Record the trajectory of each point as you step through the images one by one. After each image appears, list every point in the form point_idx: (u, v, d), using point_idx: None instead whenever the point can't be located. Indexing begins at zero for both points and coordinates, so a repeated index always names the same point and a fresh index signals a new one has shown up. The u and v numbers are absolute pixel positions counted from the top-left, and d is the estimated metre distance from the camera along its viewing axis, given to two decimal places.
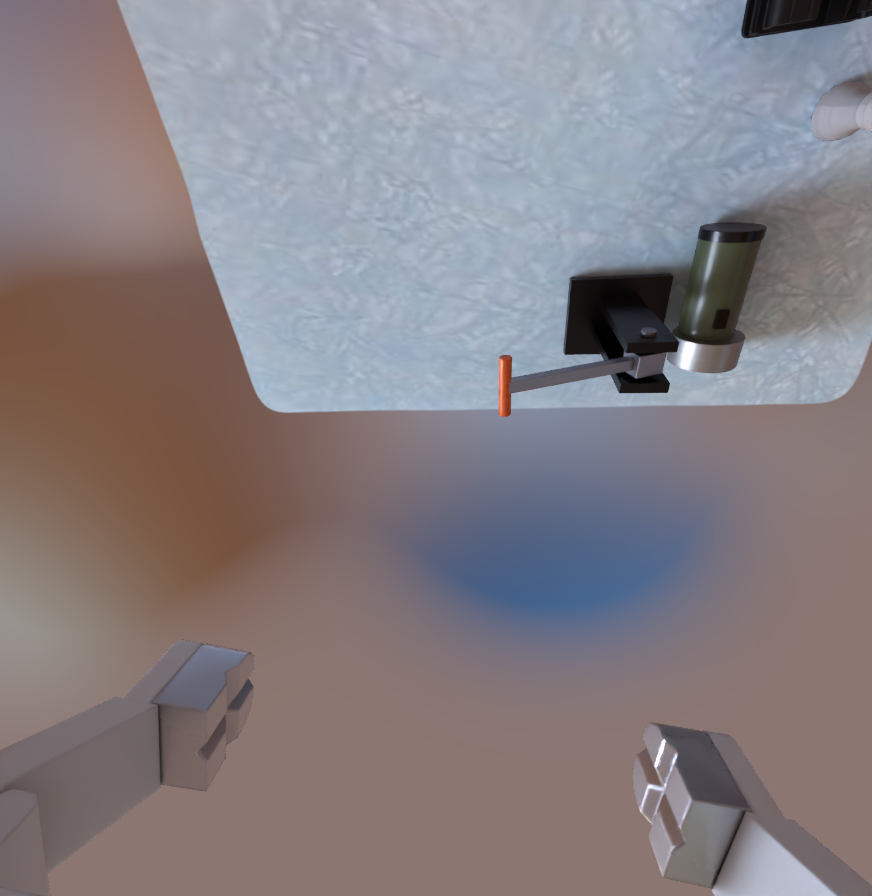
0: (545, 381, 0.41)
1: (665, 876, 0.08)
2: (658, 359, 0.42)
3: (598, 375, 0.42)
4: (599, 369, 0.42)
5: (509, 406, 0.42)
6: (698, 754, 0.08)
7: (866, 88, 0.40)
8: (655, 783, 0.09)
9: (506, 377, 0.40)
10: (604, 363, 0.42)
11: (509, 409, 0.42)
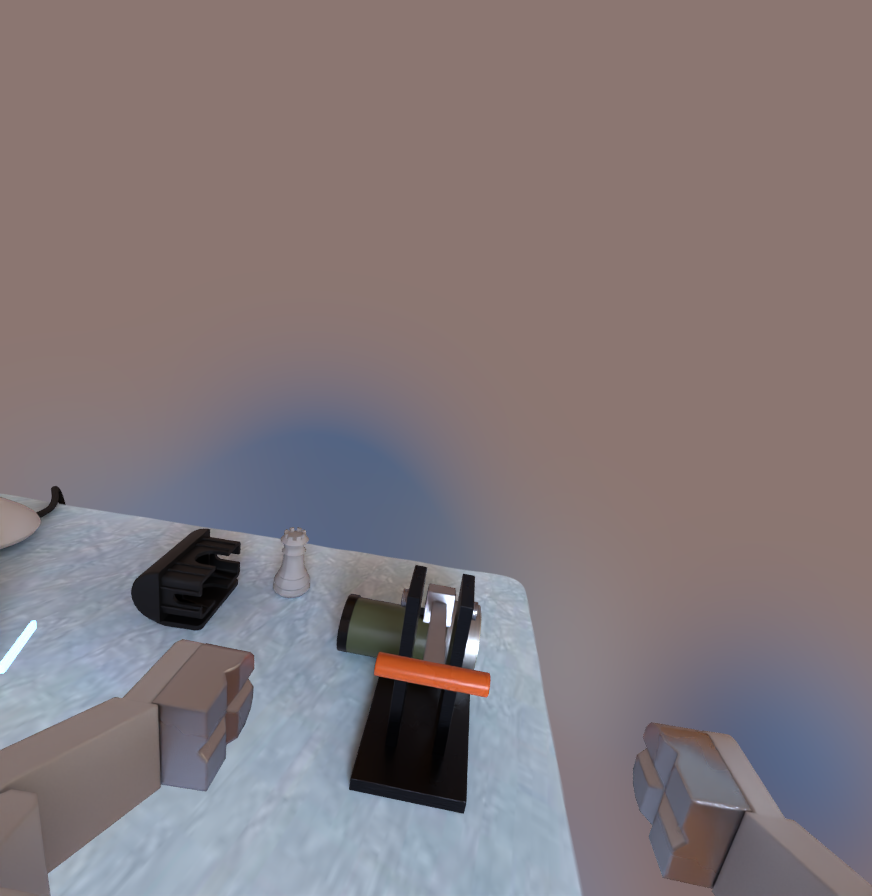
0: (435, 639, 0.26)
1: (664, 875, 0.08)
2: (436, 586, 0.37)
3: (444, 615, 0.32)
4: (435, 614, 0.32)
5: None
6: (699, 754, 0.08)
7: None
8: (655, 783, 0.09)
9: (411, 659, 0.23)
10: None
11: (476, 671, 0.23)
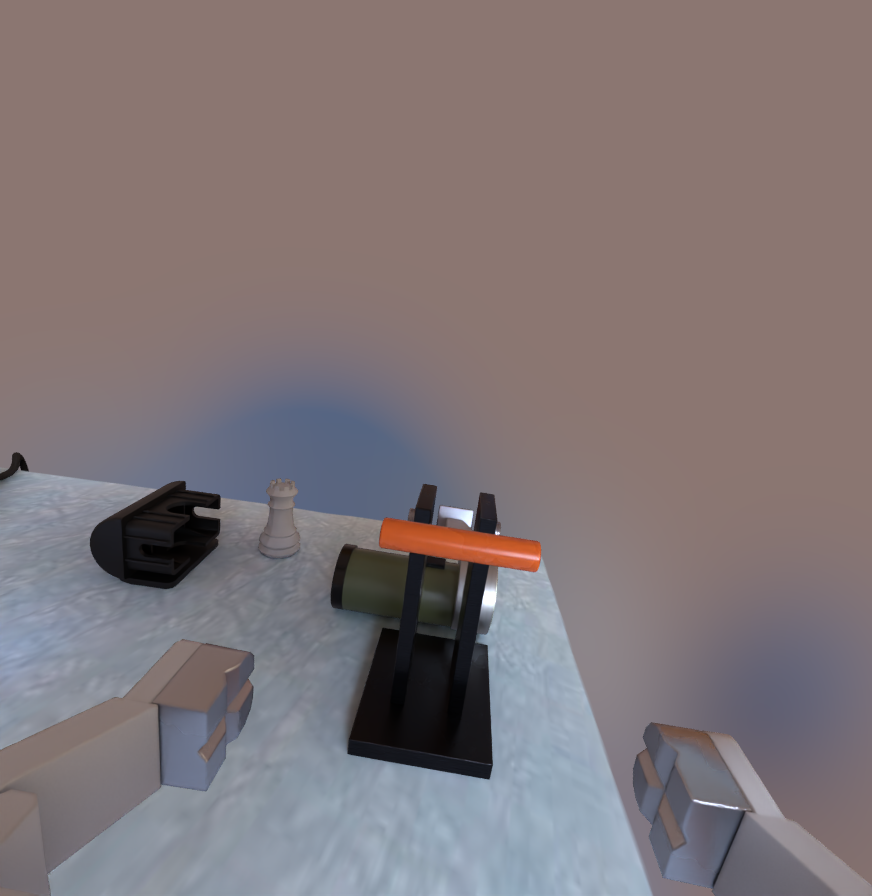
0: (458, 525, 0.20)
1: (665, 875, 0.08)
2: (449, 506, 0.31)
3: (463, 522, 0.25)
4: (452, 520, 0.25)
5: None
6: (698, 754, 0.08)
7: None
8: (655, 783, 0.09)
9: (429, 524, 0.16)
10: (445, 524, 0.26)
11: None
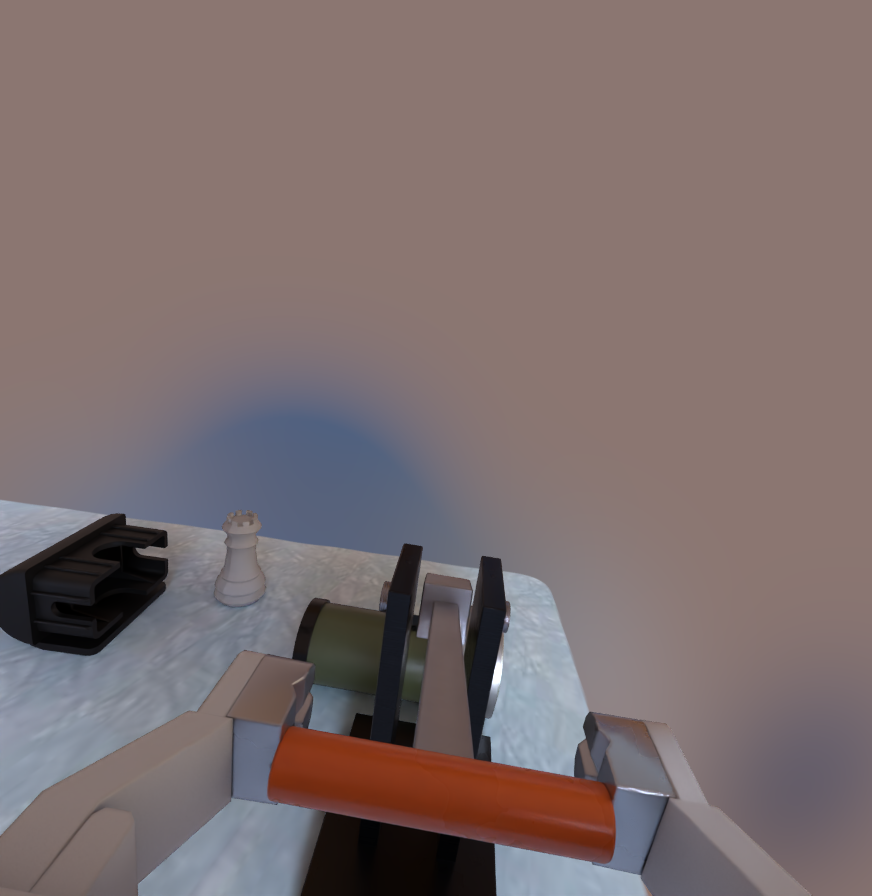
0: (444, 678, 0.11)
1: (594, 862, 0.08)
2: (438, 576, 0.22)
3: (456, 624, 0.17)
4: (440, 622, 0.17)
5: (547, 773, 0.08)
6: (632, 743, 0.08)
7: None
8: (591, 772, 0.09)
9: (378, 749, 0.08)
10: None
11: (565, 776, 0.08)
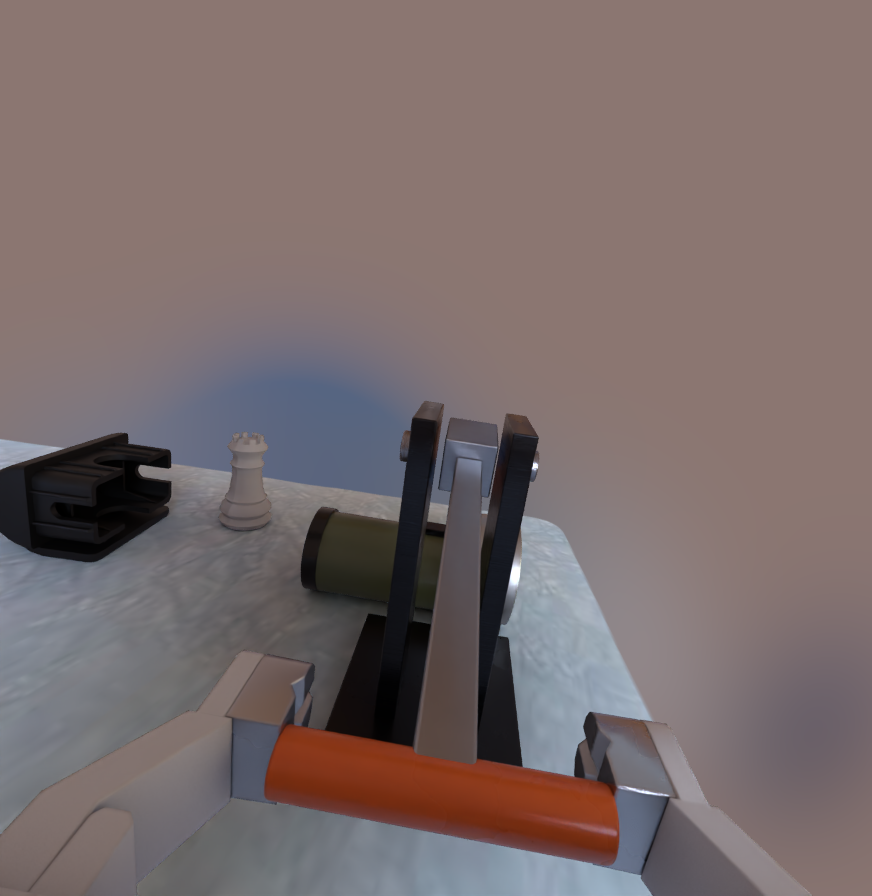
0: (455, 611, 0.11)
1: None
2: (462, 424, 0.21)
3: (476, 502, 0.16)
4: (459, 499, 0.16)
5: (553, 777, 0.08)
6: (632, 742, 0.08)
7: None
8: (591, 772, 0.09)
9: (373, 763, 0.07)
10: None
11: (572, 780, 0.08)
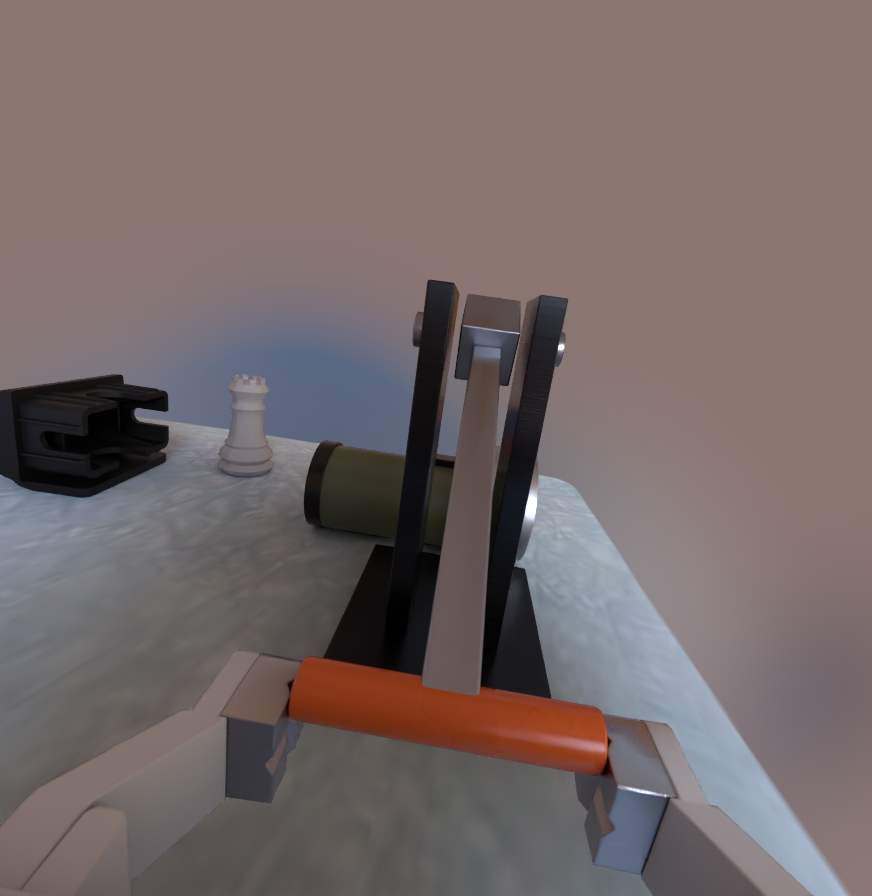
0: (465, 536, 0.11)
1: (595, 861, 0.08)
2: (481, 303, 0.18)
3: (493, 403, 0.15)
4: (475, 400, 0.15)
5: (550, 706, 0.08)
6: (633, 742, 0.08)
7: None
8: None
9: (384, 696, 0.08)
10: None
11: (568, 709, 0.08)
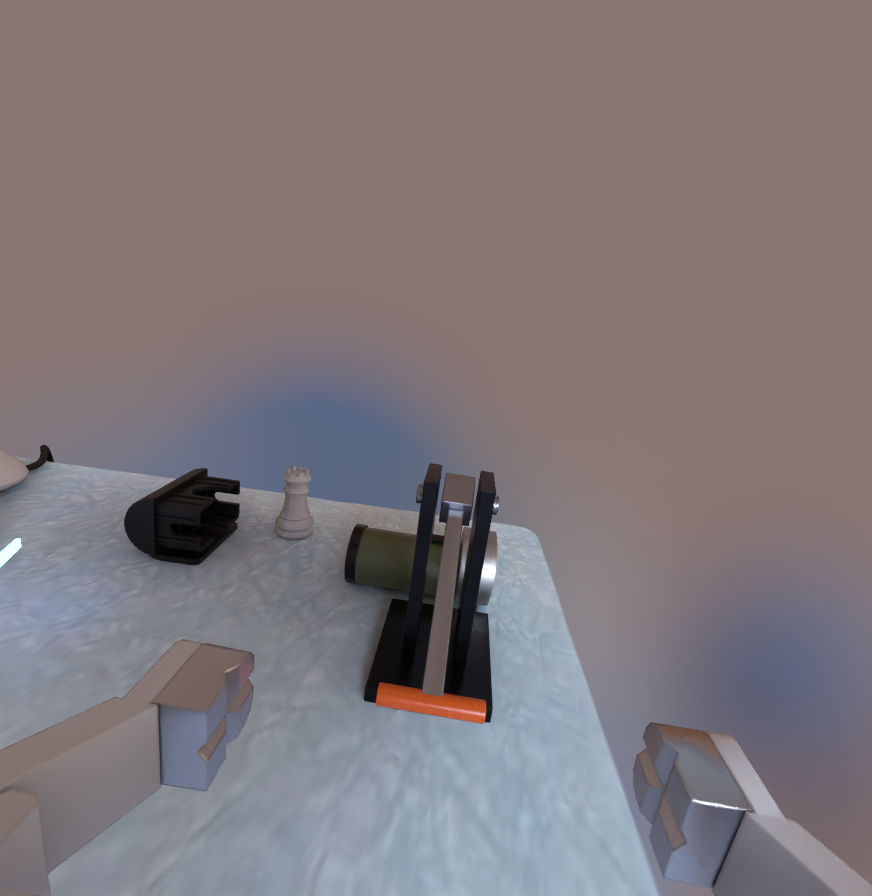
0: (440, 630, 0.26)
1: (664, 875, 0.08)
2: (453, 481, 0.34)
3: (456, 552, 0.30)
4: (447, 550, 0.30)
5: (467, 700, 0.24)
6: (698, 754, 0.08)
7: None
8: (655, 783, 0.09)
9: (409, 697, 0.23)
10: (443, 544, 0.31)
11: (473, 700, 0.24)
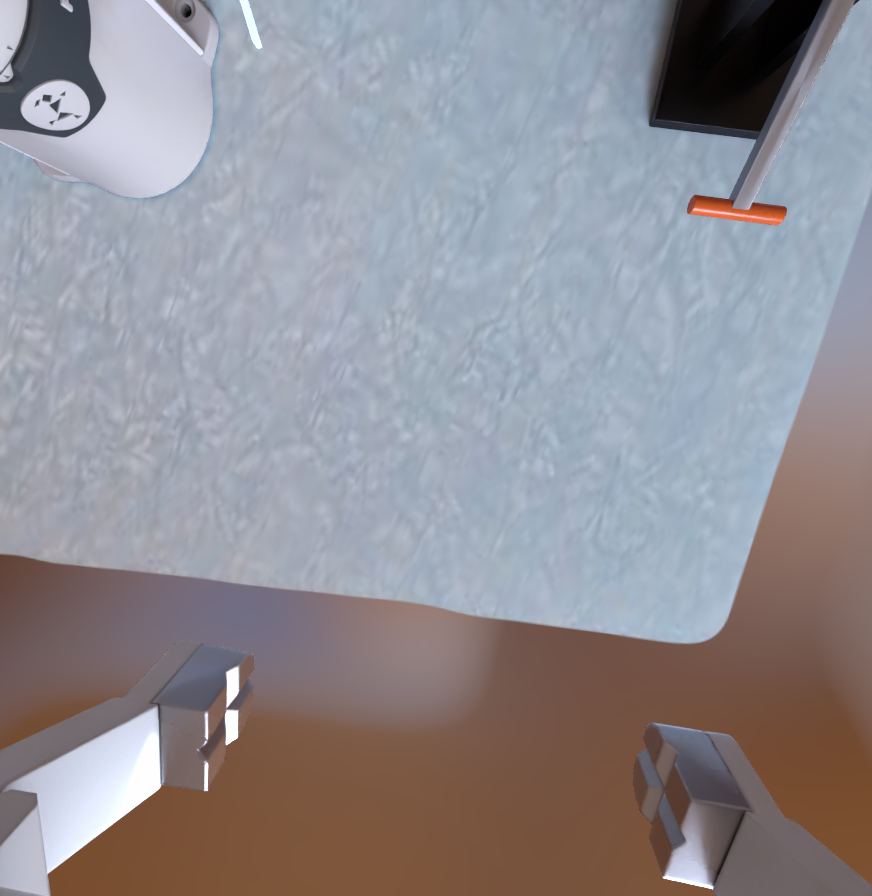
0: (772, 143, 0.26)
1: (664, 875, 0.08)
2: None
3: (844, 15, 0.22)
4: (832, 13, 0.22)
5: (770, 211, 0.28)
6: (698, 754, 0.08)
7: None
8: (655, 784, 0.09)
9: (719, 211, 0.29)
10: None
11: (776, 212, 0.28)
